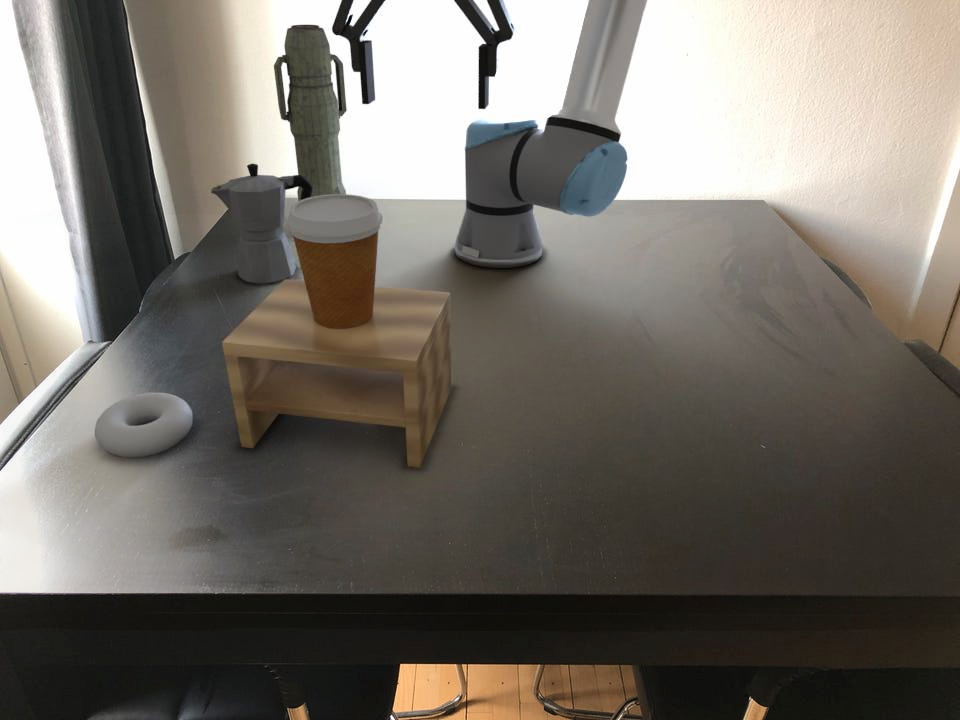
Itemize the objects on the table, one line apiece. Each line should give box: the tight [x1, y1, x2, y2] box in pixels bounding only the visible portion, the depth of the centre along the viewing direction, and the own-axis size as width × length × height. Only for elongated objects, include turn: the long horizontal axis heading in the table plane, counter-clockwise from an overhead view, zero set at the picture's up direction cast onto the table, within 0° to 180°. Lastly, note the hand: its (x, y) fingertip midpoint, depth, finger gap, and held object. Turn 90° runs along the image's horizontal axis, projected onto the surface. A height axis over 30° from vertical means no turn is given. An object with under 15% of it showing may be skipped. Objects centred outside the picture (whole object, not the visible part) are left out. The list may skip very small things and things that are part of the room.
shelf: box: [221, 278, 452, 469], centre depth 83 cm, size 16×20×13 cm
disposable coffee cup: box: [285, 193, 384, 328], centre depth 76 cm, size 10×10×12 cm
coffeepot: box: [210, 163, 313, 285], centre depth 118 cm, size 15×9×18 cm, turn 113°
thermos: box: [273, 24, 348, 202], centre depth 134 cm, size 9×12×35 cm
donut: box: [94, 392, 193, 458], centre depth 81 cm, size 10×3×10 cm
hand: (425, 104), depth 86 cm, fingers open, 13 cm apart
